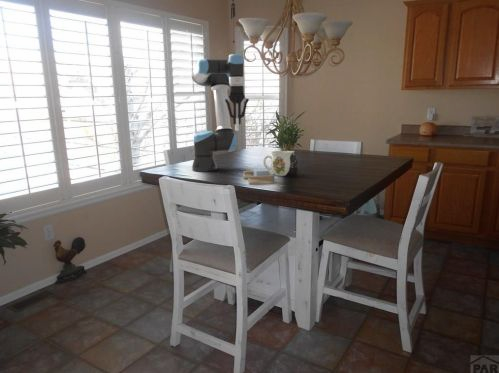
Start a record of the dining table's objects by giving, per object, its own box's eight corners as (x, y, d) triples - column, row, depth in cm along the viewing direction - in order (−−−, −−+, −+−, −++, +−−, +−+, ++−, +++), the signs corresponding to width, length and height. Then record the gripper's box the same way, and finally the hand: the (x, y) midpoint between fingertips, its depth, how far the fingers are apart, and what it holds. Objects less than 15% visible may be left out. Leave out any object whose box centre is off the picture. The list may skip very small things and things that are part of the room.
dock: (243, 178, 221) (243, 171, 220) (266, 177, 224) (266, 170, 223) (249, 184, 206) (249, 176, 205) (274, 182, 209) (274, 175, 208)
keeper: (253, 179, 218) (253, 169, 216) (265, 179, 219) (265, 168, 218) (256, 182, 211) (256, 171, 210) (269, 181, 213) (269, 170, 211)
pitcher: (265, 172, 237) (265, 149, 234) (295, 173, 233) (295, 150, 229) (261, 176, 226) (261, 152, 223) (293, 177, 222) (293, 152, 219)
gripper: (225, 85, 202) (226, 131, 209) (250, 85, 205) (250, 131, 211) (223, 85, 209) (223, 130, 216) (247, 85, 212) (247, 129, 218)
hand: (237, 130), depth 213 cm, fingers closed
